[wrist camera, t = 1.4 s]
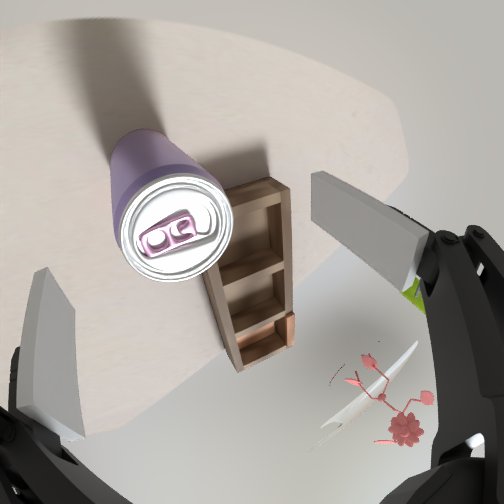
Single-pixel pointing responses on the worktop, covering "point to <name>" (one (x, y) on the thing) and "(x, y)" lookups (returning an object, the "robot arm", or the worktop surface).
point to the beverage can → (166, 208)
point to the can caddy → (255, 275)
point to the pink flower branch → (400, 425)
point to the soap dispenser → (411, 295)
